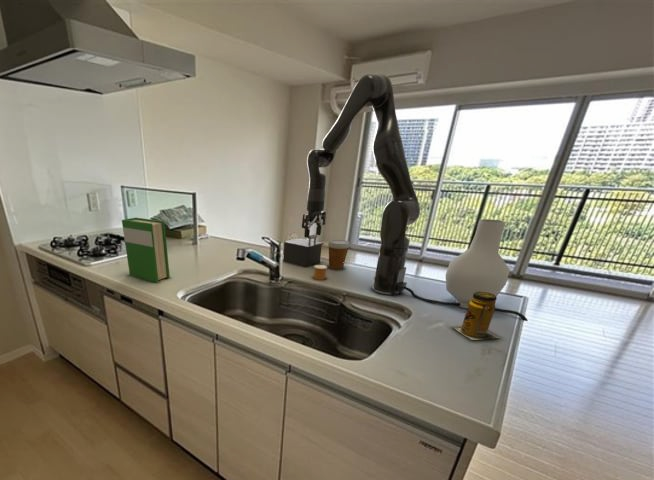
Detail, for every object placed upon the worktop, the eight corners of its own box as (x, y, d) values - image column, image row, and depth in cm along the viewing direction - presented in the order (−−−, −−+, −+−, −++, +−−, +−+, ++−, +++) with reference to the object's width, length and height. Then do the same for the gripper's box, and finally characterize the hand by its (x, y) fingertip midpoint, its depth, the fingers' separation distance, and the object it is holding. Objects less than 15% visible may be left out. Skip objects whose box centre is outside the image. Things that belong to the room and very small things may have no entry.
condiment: (453, 328, 99) (464, 290, 94) (480, 327, 100) (492, 289, 95) (471, 340, 93) (484, 300, 88) (500, 338, 93) (514, 298, 88)
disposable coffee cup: (321, 266, 158) (323, 240, 153) (337, 263, 162) (340, 238, 156) (334, 271, 150) (338, 245, 145) (351, 268, 154) (354, 242, 149)
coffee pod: (328, 278, 142) (329, 266, 140) (320, 281, 139) (322, 269, 137) (318, 275, 146) (319, 264, 144) (310, 277, 143) (311, 266, 141)
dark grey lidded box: (320, 262, 164) (321, 244, 160) (305, 267, 157) (306, 248, 154) (298, 256, 173) (299, 239, 170) (283, 261, 167) (284, 243, 163)
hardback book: (169, 278, 146) (164, 221, 135) (156, 282, 140) (150, 223, 130) (142, 271, 155) (135, 217, 145) (129, 275, 150) (121, 219, 139)
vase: (498, 319, 105) (531, 227, 93) (437, 308, 112) (461, 223, 100) (493, 301, 117) (522, 219, 105) (439, 293, 125) (460, 215, 113)
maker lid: (323, 244, 160) (324, 233, 158) (307, 248, 153) (308, 237, 151) (299, 239, 170) (300, 229, 167) (284, 243, 163) (284, 232, 161)
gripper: (313, 201, 142) (309, 239, 149) (332, 198, 151) (328, 235, 158) (299, 200, 147) (296, 237, 154) (318, 197, 156) (315, 232, 163)
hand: (312, 236), depth 156 cm, fingers open, 8 cm apart
